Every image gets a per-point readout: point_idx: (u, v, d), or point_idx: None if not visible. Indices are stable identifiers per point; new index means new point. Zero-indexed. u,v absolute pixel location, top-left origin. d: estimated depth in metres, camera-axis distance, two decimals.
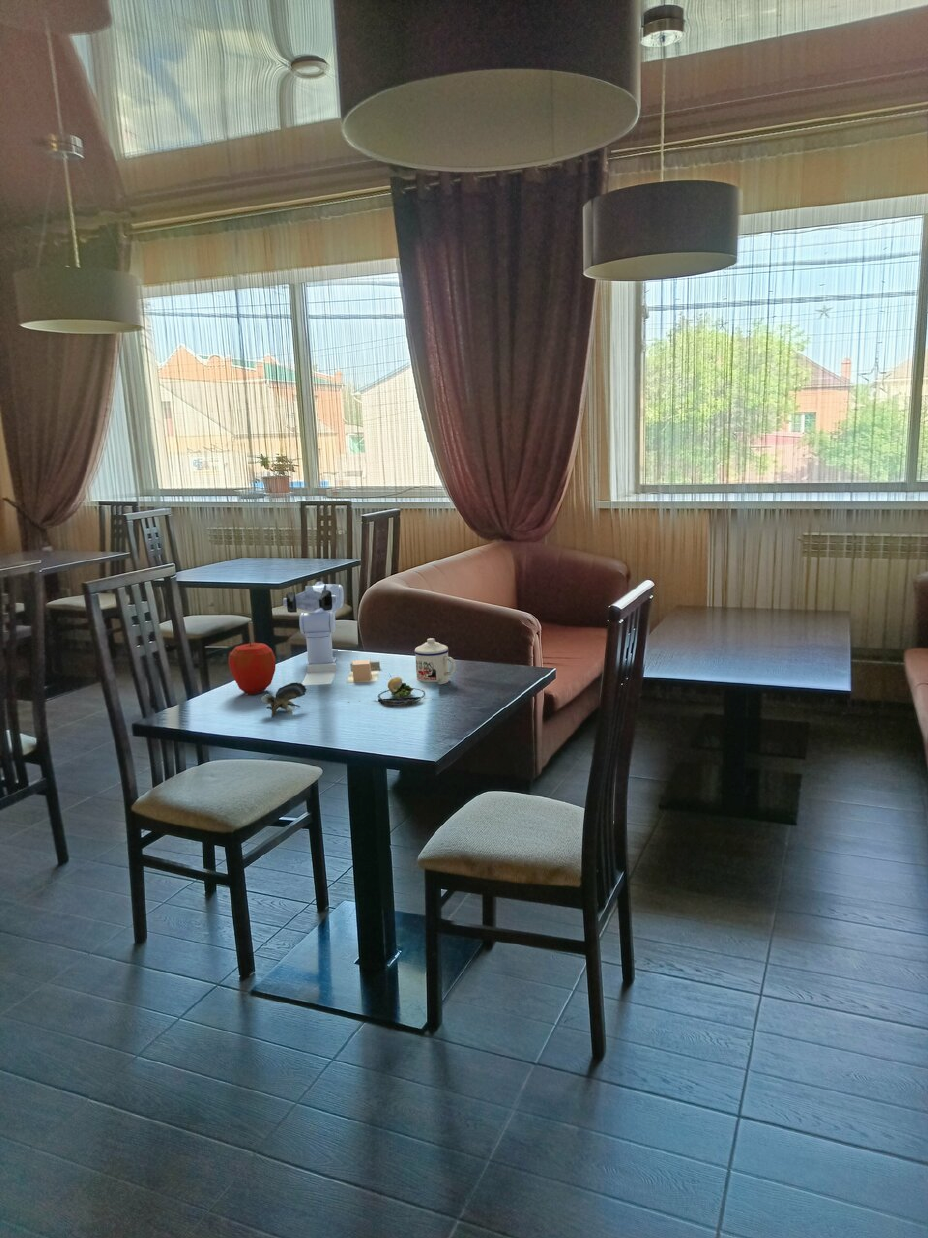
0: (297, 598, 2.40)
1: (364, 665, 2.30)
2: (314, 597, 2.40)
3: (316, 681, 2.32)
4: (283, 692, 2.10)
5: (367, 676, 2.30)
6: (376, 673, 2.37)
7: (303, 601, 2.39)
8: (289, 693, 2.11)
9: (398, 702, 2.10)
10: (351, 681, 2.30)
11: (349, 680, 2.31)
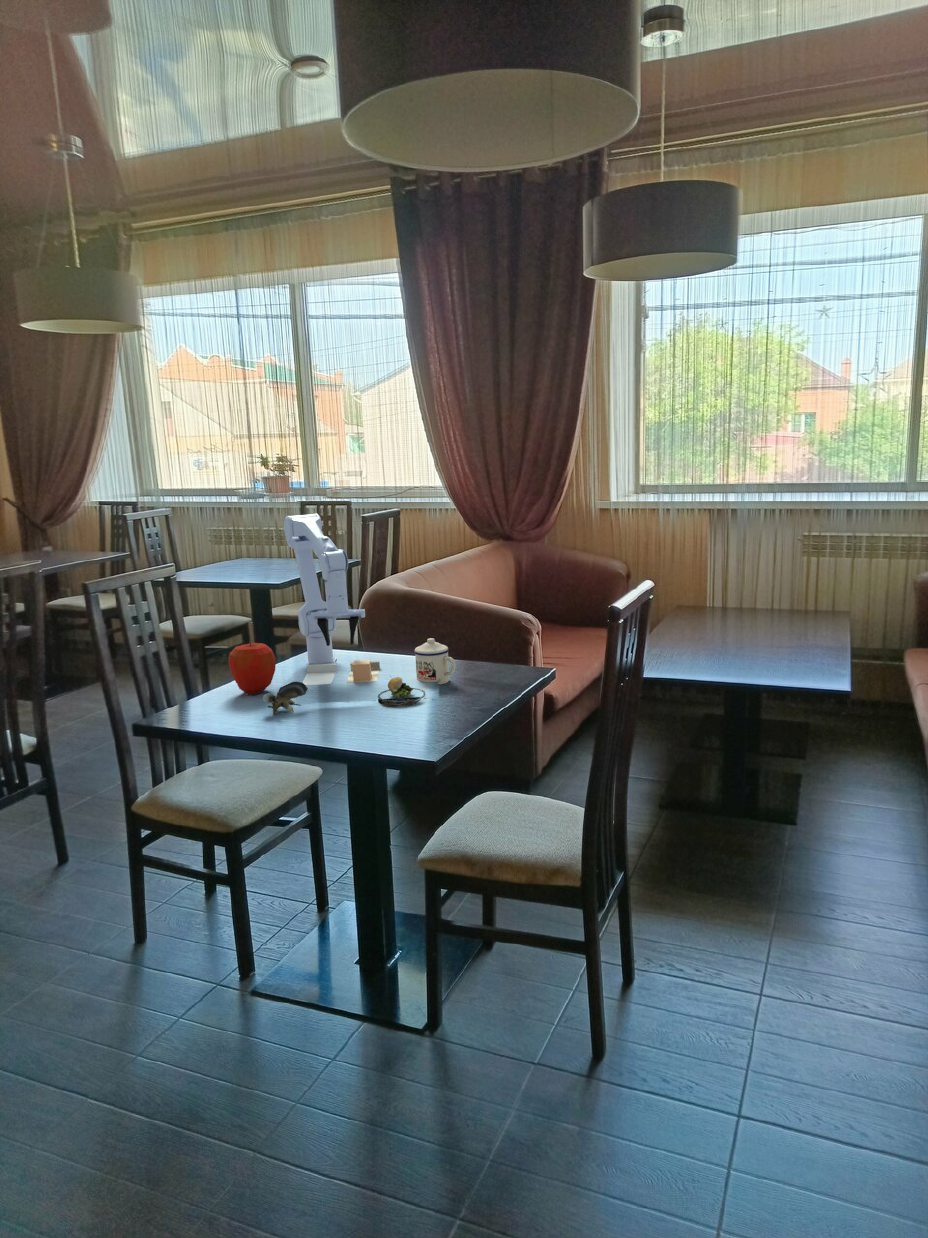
0: (324, 615, 2.35)
1: (364, 665, 2.30)
2: None
3: (316, 681, 2.32)
4: (284, 691, 2.11)
5: (367, 676, 2.30)
6: (376, 673, 2.37)
7: None
8: (290, 692, 2.11)
9: (398, 702, 2.10)
10: (351, 681, 2.30)
11: (349, 680, 2.31)
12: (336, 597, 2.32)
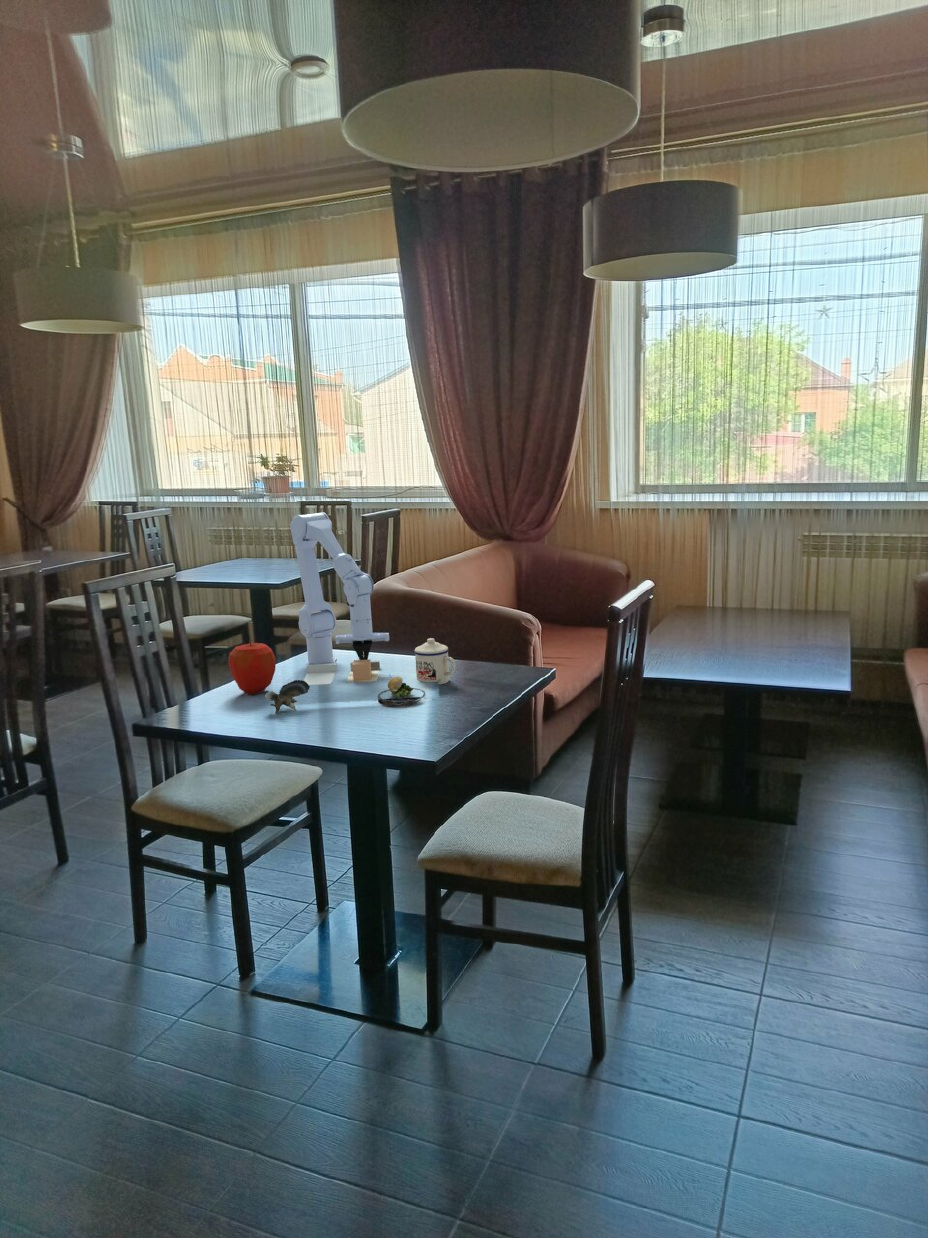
0: None
1: (364, 665, 2.30)
2: None
3: (316, 681, 2.32)
4: (286, 690, 2.12)
5: (367, 676, 2.31)
6: (376, 673, 2.37)
7: None
8: (292, 690, 2.13)
9: (398, 702, 2.10)
10: (351, 681, 2.31)
11: (349, 680, 2.32)
12: (361, 621, 2.35)
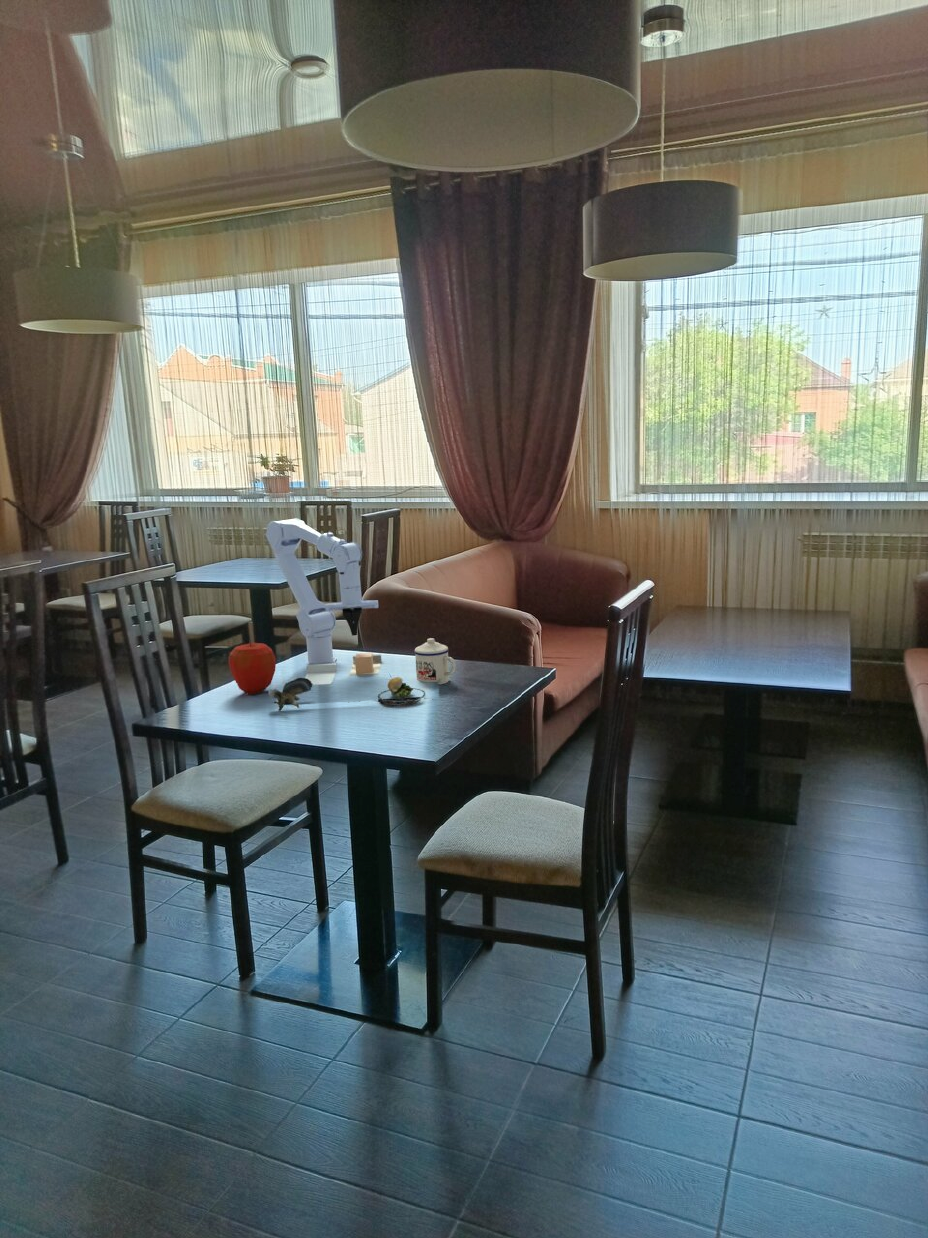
0: (339, 606, 2.41)
1: (366, 658, 2.37)
2: None
3: (316, 681, 2.32)
4: (290, 687, 2.14)
5: (369, 669, 2.38)
6: (378, 666, 2.45)
7: None
8: (296, 688, 2.15)
9: (398, 702, 2.10)
10: (354, 673, 2.38)
11: (352, 672, 2.39)
12: (350, 588, 2.38)
